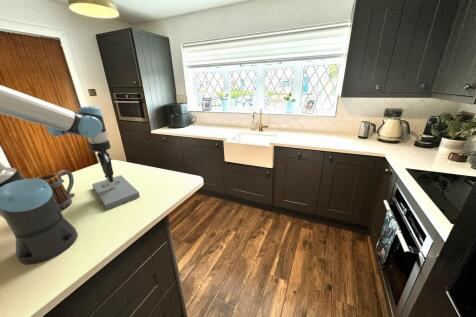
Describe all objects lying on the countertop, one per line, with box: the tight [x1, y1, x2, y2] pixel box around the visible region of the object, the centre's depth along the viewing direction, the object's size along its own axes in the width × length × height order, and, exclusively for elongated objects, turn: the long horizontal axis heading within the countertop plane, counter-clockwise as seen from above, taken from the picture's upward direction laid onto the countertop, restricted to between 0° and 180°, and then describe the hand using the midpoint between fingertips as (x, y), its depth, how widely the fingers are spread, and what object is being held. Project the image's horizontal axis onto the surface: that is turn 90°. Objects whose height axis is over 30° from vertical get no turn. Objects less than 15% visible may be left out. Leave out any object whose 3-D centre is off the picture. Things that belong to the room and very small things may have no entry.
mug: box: [36, 169, 76, 212], centre depth 89 cm, size 16×11×15 cm
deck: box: [91, 175, 141, 211], centre depth 99 cm, size 28×14×2 cm, turn 45°
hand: (112, 186), depth 98 cm, fingers closed
